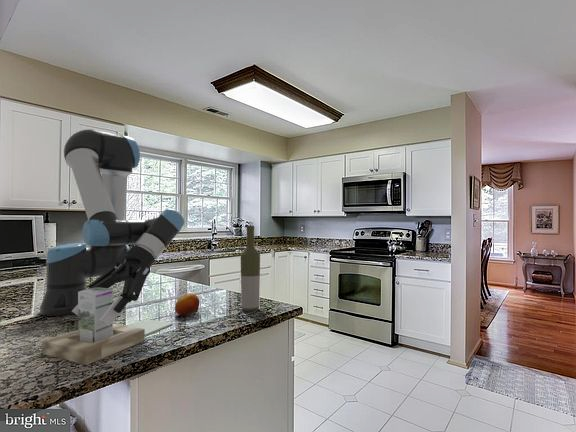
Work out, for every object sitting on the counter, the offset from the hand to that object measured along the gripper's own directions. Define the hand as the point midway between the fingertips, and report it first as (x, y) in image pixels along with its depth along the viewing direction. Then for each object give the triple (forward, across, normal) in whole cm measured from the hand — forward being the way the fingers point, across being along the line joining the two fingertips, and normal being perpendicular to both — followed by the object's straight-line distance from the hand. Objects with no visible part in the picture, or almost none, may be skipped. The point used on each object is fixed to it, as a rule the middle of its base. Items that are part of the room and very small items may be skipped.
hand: (89, 318), depth 81 cm
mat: (-7, +3, -17) cm, 19 cm away
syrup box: (+4, 0, -7) cm, 8 cm away
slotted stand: (+4, 0, -6) cm, 8 cm away
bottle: (-29, -11, -40) cm, 51 cm away
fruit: (-18, +4, -29) cm, 35 cm away
